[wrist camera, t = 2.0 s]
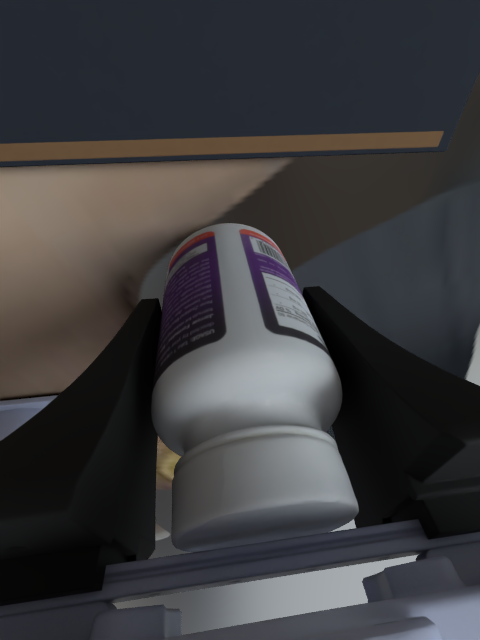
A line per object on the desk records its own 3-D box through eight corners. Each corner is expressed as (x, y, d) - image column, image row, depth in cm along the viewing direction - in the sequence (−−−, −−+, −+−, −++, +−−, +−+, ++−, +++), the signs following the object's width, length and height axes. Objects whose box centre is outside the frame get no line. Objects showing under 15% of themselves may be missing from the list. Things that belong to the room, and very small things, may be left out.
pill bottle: (180, 325, 15) (167, 571, 8) (153, 226, 11) (80, 520, 4) (282, 313, 15) (361, 539, 8) (288, 212, 11) (446, 465, 4)
